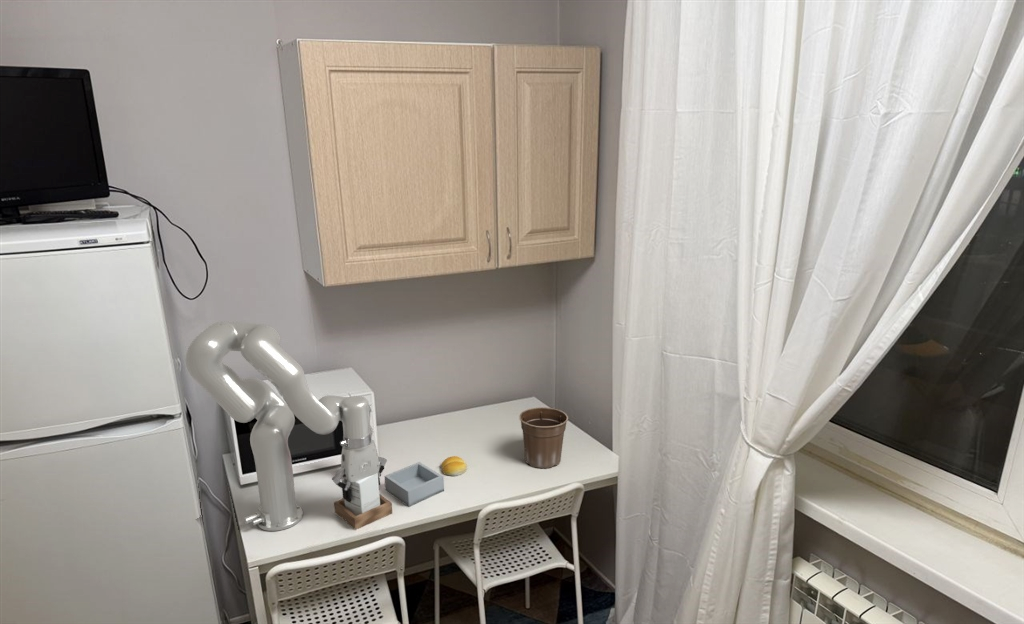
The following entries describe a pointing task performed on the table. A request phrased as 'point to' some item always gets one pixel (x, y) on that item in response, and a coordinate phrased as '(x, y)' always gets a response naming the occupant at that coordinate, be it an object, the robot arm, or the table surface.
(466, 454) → the table surface
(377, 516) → the walnut frame
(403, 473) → the grey bin
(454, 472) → the bread roll
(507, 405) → the table surface
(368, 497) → the supplement box
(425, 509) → the table surface
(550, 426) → the plant pot
